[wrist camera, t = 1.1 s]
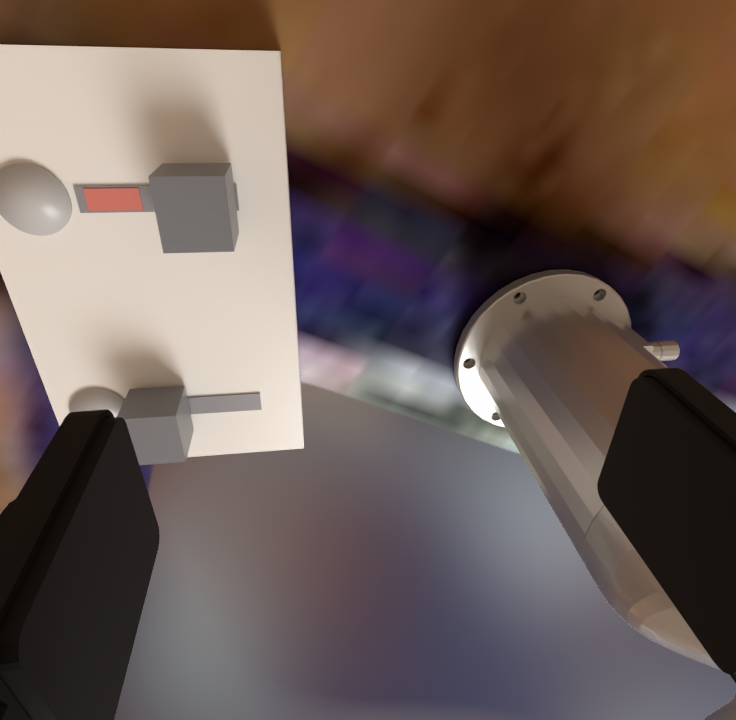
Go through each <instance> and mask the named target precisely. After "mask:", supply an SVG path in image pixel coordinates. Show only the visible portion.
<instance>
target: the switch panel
mask: <svg viewBox="0 0 736 720" xmlns="http://www.w3.org/2000/svg"><path fill="white" fill-rule="evenodd" d="M162 163H231V166H232V175H233V183H234V192H235V201H236V209H237V218H238V227H239V235H238V239H237V242H236V246H235V250H234V252H200V253H163V249H162V244H161V239H160V234H159V229H158V224H157V219H156V214H155V209H154V204H153V199H152V194H151V189H150V184H149V179H148V176H149V175H150V174H152V173H153V172H154V171H155V170H156V169H157V168H158V167H159V166H160V165H161V164H162ZM0 272H1V274H2V277H3V280H4V282H5V285H6V287H7V290H8V293H9V295H10V298H11V300H12V303H13V306H14V308H15V311H16V314H17V316H18V319H19V321H20V324H21V327H22V329H23V332H24V334H25V337H26V340H27V342H28V345H29V348H30V350H31V353H32V355H33V358H34V361H35V363H36V366H37V368H38V371H39V374H40V376H41V379H42V382H43V384H44V387H45V389H46V392H47V395H48V397H49V400H50V402H51V405H52V408H53V410H54V413H55V416H56V418H57V421H58V423H59V426H60V425H61V424H62V422H63V420H64V419H65V417H66V416H67V415H68V414H69V413H71V412H78V411H91V410H105V409H107V410H110V411H111V412H112V413H113V415H114V418H115V417H117V415H118V413H119V411H120V409H121V406H122V404H123V402H124V400H125V398H126V396H127V394H128V391H129V389H138V388H155V387H172V386H185V389H186V394H187V399H188V403H189V408H190V413H191V418H192V423H193V428H194V431H193V435H192V439H191V443H190V447H189V451H188V456H187V457H195V456H208V455H221V454H234V453H248V452H260V451H274V450H287V449H300V448H304V439H303V415H302V397H301V381H300V364H299V347H298V330H297V313H296V297H295V280H294V263H293V246H292V230H291V213H290V196H289V179H288V163H287V146H286V129H285V112H284V95H283V79H282V62H281V51H260V50H218V49H176V48H134V47H92V46H49V45H7V44H0Z"/></svg>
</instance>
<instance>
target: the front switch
mask: <svg viewBox="0 0 736 720" xmlns="http://www.w3.org/2000/svg"><path fill="white" fill-rule="evenodd" d="M148 179H149V184H150V189H151V194H152V199H153V204H154V209H155V214H156V219H157V224H158V229H159V234H160V239H161V244H162V249H163V253H200V252H234V250H235V246H236V242H237V239H238V235H239V227H238V218H237V209H236V201H235V192H234V183H233V175H232V166H231V163H162V164H161V165H160V166H159V167H158V168H157V169H156V170H155V171H154V172H153V173H152V174H150V175H149V176H148Z"/></svg>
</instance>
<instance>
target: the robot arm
mask: <svg viewBox="0 0 736 720" xmlns="http://www.w3.org/2000/svg"><path fill="white" fill-rule="evenodd" d="M679 352H680V349H679V345H678V344H677V342H676V341H673V340H664V341H654V342H647V341H646V340H645V339H643V338H642V337H641V336H640V335H639V334H637V333H636V332H635V331H634V330H632V329H631V319H630V315H629V312H628V308H627V307H626V305H625V303H624V301H623V300H622V298H621V296H620V295H619V294H618V293H617V292H616V291H614V290H613V289H612V288H611V287H610V286H609V285H607V284H606V283H605V282H603V281H602V280H600V279H599V278H597V277H595V276H592V275H590V274H587V273H585V272H581V271H575V270H569V269H561V270H547V271H543V272H538V273H533V274H530V275H528V276H525V277H523V278H520V279H518V280H515V281H514V282H512V283H510V284H508V285H507V286H505V287H503V288H502V289H500V290H498V291H497V292H496V293H495V294H494V295H492V296H491V297H490V298H489V299H488V300H486V301H485V302H484V303H483V304H482V305H481V306H480V307H479V309H478V310H477V311H476V312H475V313H474V314H473V315H472V317H471V318H470V320H469V321H468V323H467V325H466V326H465V328H464V330H463V331H462V334H461V336H460V339H459V341H458V344H457V346H456V352H455V357H454V376H455V379H456V383H457V387H458V389H459V391H460V393H461V395H462V397H463V399H464V401H465V402H466V404H467V405H468V406H469V408H470V409H471V410H472V411H473V412H474V413H475V414H477V415H478V416H479V417H480V418H481V419H483V420H485V421H487V422H489V423H491V424H494V425H497V426H501V427H505V428H506V429H507V431H508V433H509V435H510V436H511V438H512V440H513V442H514V443H515V445H516V447H517V448H518V450H519V452H520V454H521V455H522V457H523V459H524V460H525V462H526V464H527V466H528V467H529V469H530V471H531V472H532V474H533V476H534V478H535V479H536V481H537V483H538V485H539V486H540V488H541V490H542V492H543V493H544V495H545V497H546V498H547V500H548V502H549V504H550V505H551V507H552V509H553V510H554V512H555V514H556V516H557V517H558V519H559V521H560V523H561V524H562V526H563V528H564V529H565V531H566V533H567V535H568V536H569V538H570V540H571V541H572V543H573V545H574V547H575V548H576V550H577V552H578V554H579V555H580V557H581V559H582V561H583V562H584V564H585V566H586V568H587V570H588V571H589V573H590V575H591V576H592V578H593V580H594V582H595V583H596V585H597V587H598V588H599V590H600V592H601V593H602V595H603V596H604V598H605V599H606V600H607V602H608V603H609V604H610V606H611V607H612V608H613V609H614V610H615V611H616V612H617V614H618V615H619V616H620V617H621V618H622V619H624V620H625V621H626V622H627V623H628V624H629V625H630V626H631V627H632V628H634V629H635V630H637V631H638V632H640V633H641V634H643V635H644V636H646V637H647V638H649V639H650V640H652V641H654V642H656V643H658V644H660V645H662V646H664V647H666V648H668V649H671V650H673V651H675V652H677V653H679V654H682V655H684V656H686V657H689V658H691V659H694V660H696V661H699V662H702V663H704V664H707V665H710V666H712V667H715V668H717V669H720V670H722V671H723V672H725V673H728V674H730V675H731V677H732V678H733V680H734V681H735V682H736V413H735V412H734V411H733V410H731V409H730V408H729V407H728V406H727V405H725V404H724V403H723V402H722V401H720V400H719V399H718V398H717V397H715V396H714V395H713V394H712V393H710V392H709V391H708V390H707V389H706V388H704V387H703V386H702V385H701V384H699V383H698V382H697V381H696V380H694V379H693V378H692V377H691V376H689V375H688V374H687V373H686V372H685V371H683V370H681V369H680V368H678V367H676V366H675V367H667V366H666V365H665V364H664V363H662V362H661V361H669V360H675V359H677V357H678V356H679ZM158 545H159V527H158V524H157V520H156V517H155V514H154V511H153V507H152V504H151V501H150V498H149V495H148V491H147V488H146V485H145V482H144V478H143V475H142V472H141V469H140V466H139V462H138V459H137V456H136V453H135V450H134V446H133V443H132V440H131V437H130V434H129V430H128V427H127V424H126V422H125V420H124V419H123V418H122V417H115V418H114V415H113V413H112V412H111V411H110V410H107V409H105V410H91V411H78V412H71V413H69V414H68V415H67V416H66V417H65V419H64V420H63V422H62V424H61V425H60V427H59V429H58V430H57V432H56V434H55V435H54V437H53V439H52V440H51V442H50V444H49V445H48V447H47V448H46V450H45V452H44V453H43V455H42V457H41V458H40V460H39V462H38V463H37V465H36V467H35V468H34V470H33V472H32V473H31V475H30V477H29V478H28V480H27V482H26V483H25V485H24V487H23V488H22V490H21V492H20V493H19V495H18V497H17V498H16V499H15V500H14V501H12V502H10V503H9V504H8V506H7V507H6V508H5V509H4V510H3V512H2V513H1V515H0V720H114V717H115V714H116V709H117V706H118V702H119V697H120V694H121V690H122V686H123V683H124V679H125V674H126V671H127V667H128V663H129V659H130V655H131V651H132V648H133V644H134V640H135V636H136V632H137V628H138V624H139V620H140V616H141V613H142V609H143V605H144V601H145V597H146V593H147V589H148V585H149V582H150V578H151V574H152V569H153V566H154V562H155V558H156V554H157V551H158ZM705 720H736V694H735V696H734V697H733V698H732V699H731V700H730V701H729V702H728V703H727V704H725V705H724V706H722V707H720V708H719V709H717V710H716V711H714V712H713V713H711V714H710V715H708V716H707V717H706V718H705Z"/></svg>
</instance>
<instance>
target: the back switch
mask: <svg viewBox="0 0 736 720" xmlns="http://www.w3.org/2000/svg"><path fill="white" fill-rule="evenodd" d="M117 417H122V418H123V419H124V420H125V422H126V424H127V427H128V430H129V434H130V437H131V440H132V443H133V446H134V450H135V453H136V456H137V459H138V462H139V465H147V464H160V463H172V462H185V461H186V460H187V456H188V451H189V447H190V443H191V439H192V435H193V431H194V428H193V423H192V418H191V413H190V408H189V403H188V399H187V394H186V389H185V386H172V387H155V388H138V389H129V391H128V394H127V396H126V398H125V400H124V402H123V404H122V406H121V409H120V411H119V413H118V415H117Z"/></svg>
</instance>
